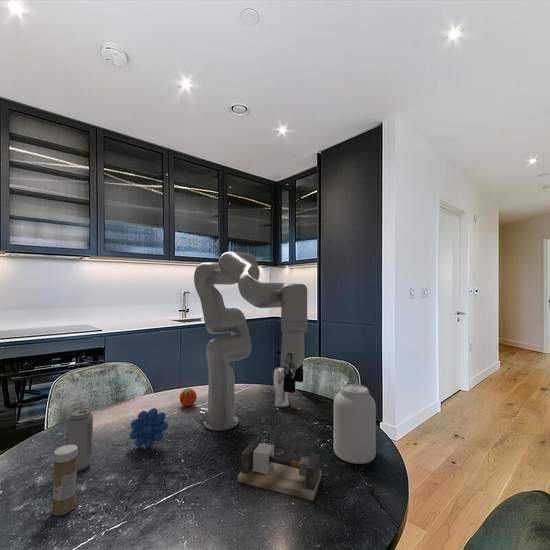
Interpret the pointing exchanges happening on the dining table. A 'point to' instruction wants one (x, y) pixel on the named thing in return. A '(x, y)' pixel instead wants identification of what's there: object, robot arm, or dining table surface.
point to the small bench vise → (283, 474)
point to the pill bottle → (64, 479)
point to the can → (354, 424)
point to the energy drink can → (81, 436)
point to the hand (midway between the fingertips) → (293, 386)
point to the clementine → (188, 397)
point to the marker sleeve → (263, 458)
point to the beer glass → (280, 388)
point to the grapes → (148, 428)
